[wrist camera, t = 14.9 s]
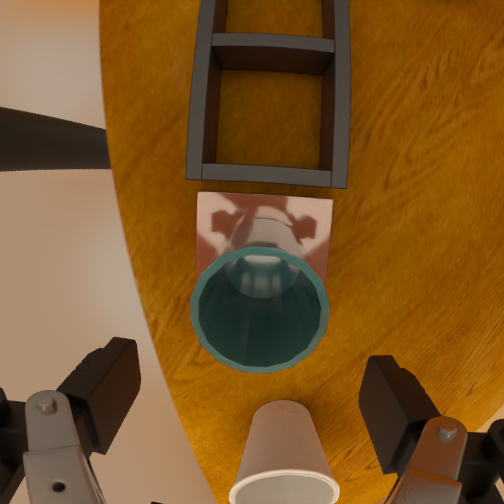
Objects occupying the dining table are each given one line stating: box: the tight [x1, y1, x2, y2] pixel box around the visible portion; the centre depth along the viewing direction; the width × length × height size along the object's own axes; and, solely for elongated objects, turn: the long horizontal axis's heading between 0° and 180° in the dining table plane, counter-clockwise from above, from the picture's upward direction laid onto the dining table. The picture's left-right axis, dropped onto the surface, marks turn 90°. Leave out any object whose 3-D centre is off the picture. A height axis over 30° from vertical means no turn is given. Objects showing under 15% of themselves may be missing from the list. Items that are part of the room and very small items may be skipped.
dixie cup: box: [229, 400, 340, 504], centre depth 23 cm, size 8×8×10 cm
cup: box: [190, 219, 330, 374], centre depth 20 cm, size 6×6×10 cm
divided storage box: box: [185, 0, 351, 189], centre depth 19 cm, size 10×18×5 cm, turn 177°
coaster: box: [196, 191, 333, 287], centre depth 25 cm, size 10×10×1 cm
